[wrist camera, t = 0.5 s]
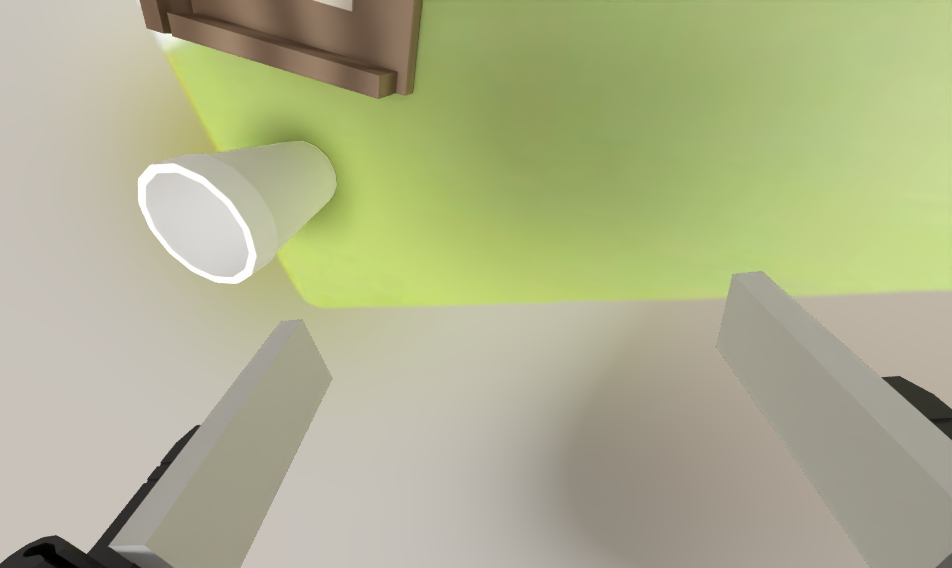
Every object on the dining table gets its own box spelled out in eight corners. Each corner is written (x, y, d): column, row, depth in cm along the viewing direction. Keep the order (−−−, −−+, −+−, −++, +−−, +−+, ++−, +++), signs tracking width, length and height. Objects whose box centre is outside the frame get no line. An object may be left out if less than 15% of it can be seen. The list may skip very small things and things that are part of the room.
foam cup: (305, 102, 34) (174, 136, 24) (369, 192, 37) (279, 257, 27) (248, 154, 39) (118, 201, 28) (310, 230, 42) (213, 298, 31)
